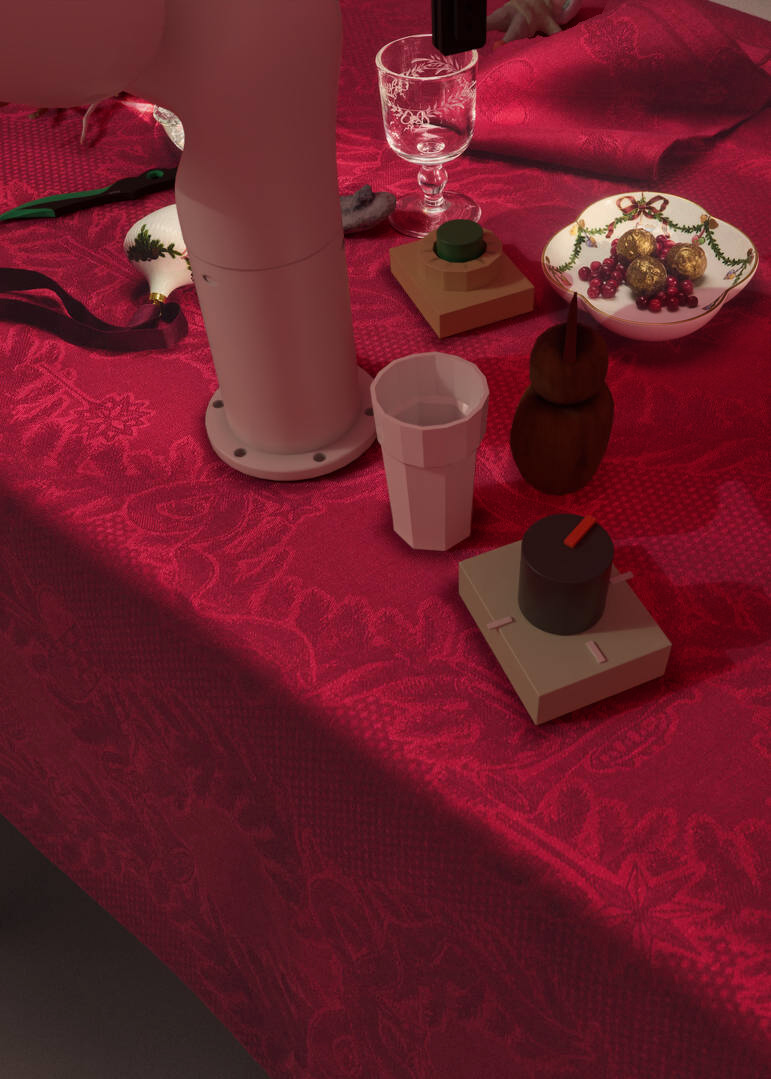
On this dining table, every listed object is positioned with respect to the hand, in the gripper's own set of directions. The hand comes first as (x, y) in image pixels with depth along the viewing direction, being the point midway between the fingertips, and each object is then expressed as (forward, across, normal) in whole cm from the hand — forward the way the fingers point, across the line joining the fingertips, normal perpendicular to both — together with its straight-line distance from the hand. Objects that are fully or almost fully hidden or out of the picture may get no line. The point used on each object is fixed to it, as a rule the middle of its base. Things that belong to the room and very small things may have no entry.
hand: (459, 46), depth 66 cm
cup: (+19, +22, -12) cm, 32 cm away
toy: (+18, -38, +20) cm, 46 cm away
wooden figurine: (+19, +22, -3) cm, 29 cm away
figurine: (+16, -50, -14) cm, 55 cm away
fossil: (+18, -11, -6) cm, 22 cm away
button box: (+19, 0, 0) cm, 19 cm away
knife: (+19, -32, -22) cm, 43 cm away
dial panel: (+19, +33, -9) cm, 39 cm away
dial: (+16, +33, -9) cm, 38 cm away
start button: (+16, 0, 0) cm, 16 cm away
